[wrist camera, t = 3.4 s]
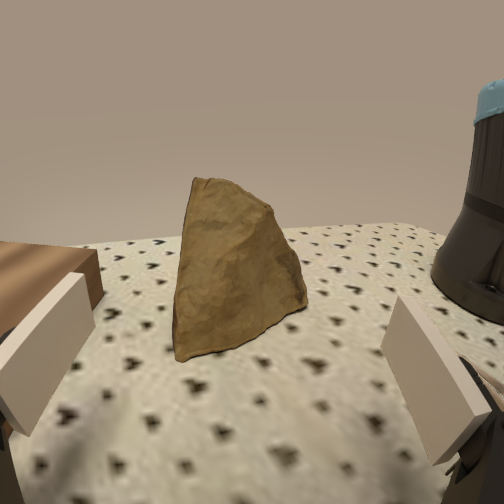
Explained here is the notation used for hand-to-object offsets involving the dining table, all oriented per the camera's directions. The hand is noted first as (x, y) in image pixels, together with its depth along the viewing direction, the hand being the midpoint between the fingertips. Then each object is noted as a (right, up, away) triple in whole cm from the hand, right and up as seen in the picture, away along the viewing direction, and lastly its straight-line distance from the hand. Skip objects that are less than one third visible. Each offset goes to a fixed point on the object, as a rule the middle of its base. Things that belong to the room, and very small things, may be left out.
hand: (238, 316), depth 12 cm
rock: (0, -3, +10) cm, 10 cm away
